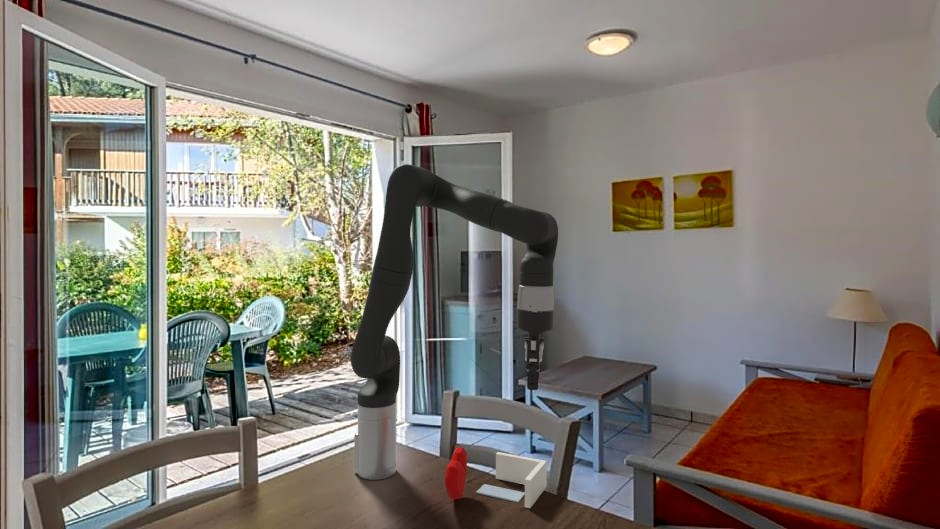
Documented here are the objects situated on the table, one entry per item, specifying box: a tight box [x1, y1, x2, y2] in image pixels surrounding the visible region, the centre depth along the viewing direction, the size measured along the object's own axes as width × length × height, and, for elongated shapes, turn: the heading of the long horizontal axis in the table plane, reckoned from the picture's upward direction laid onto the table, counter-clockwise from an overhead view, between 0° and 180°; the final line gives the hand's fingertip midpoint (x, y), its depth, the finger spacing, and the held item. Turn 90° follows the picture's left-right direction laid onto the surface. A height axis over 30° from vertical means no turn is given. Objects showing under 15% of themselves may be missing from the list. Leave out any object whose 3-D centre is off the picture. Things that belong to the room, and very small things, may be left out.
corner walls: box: [495, 451, 548, 509], centre depth 118 cm, size 12×11×6 cm
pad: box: [475, 483, 525, 503], centre depth 117 cm, size 10×4×1 cm, turn 64°
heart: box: [444, 446, 468, 500], centre depth 114 cm, size 12×4×10 cm, turn 169°
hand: (533, 384), depth 110 cm, fingers open, 8 cm apart
